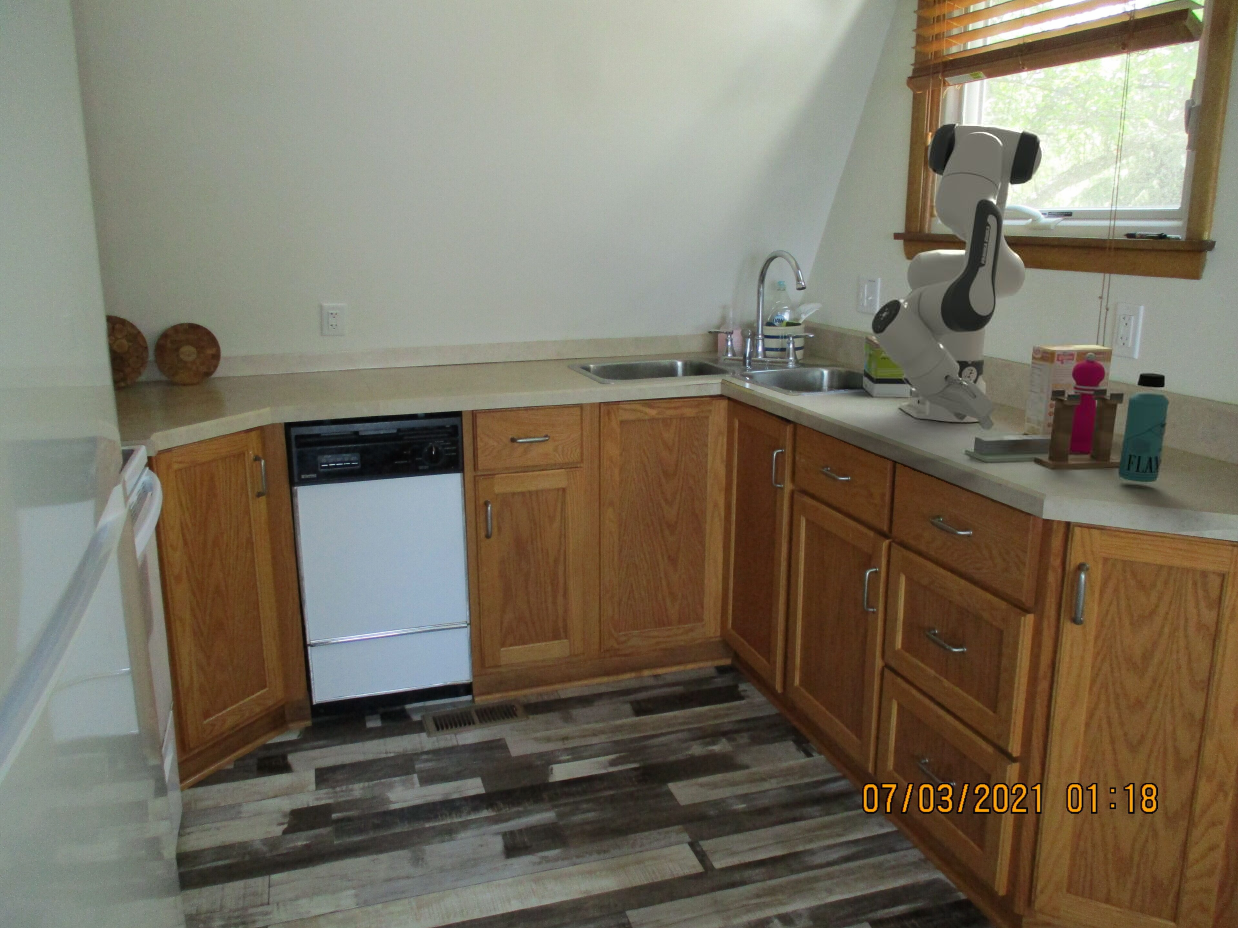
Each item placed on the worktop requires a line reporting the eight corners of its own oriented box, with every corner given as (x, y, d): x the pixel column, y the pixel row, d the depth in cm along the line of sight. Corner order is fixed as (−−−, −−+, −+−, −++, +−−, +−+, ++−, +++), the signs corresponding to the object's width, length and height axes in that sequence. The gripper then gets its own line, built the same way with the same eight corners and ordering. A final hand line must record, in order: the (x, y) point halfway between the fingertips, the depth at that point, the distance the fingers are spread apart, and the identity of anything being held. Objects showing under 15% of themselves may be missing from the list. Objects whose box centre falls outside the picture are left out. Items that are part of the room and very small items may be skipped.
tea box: (861, 388, 274) (865, 335, 271) (897, 389, 274) (901, 336, 270) (872, 397, 260) (876, 341, 256) (910, 398, 259) (915, 342, 256)
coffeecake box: (1081, 431, 220) (1092, 344, 215) (1102, 437, 213) (1114, 348, 209) (1021, 433, 217) (1031, 345, 212) (1041, 439, 210) (1052, 349, 206)
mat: (964, 453, 197) (965, 449, 197) (1040, 450, 200) (1041, 446, 200) (986, 462, 189) (987, 458, 189) (1065, 459, 192) (1065, 455, 192)
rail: (973, 451, 194) (975, 436, 194) (1045, 449, 198) (1047, 434, 197) (983, 455, 191) (984, 440, 190) (1056, 453, 194) (1058, 438, 194)
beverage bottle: (1117, 488, 172) (1133, 375, 167) (1114, 479, 178) (1129, 370, 173) (1159, 492, 169) (1177, 377, 164) (1154, 483, 175) (1170, 372, 171)
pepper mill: (1087, 446, 204) (1099, 350, 200) (1105, 454, 197) (1118, 355, 192) (1053, 446, 204) (1064, 350, 199) (1069, 454, 197) (1082, 355, 192)
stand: (1034, 461, 190) (1042, 389, 187) (1102, 459, 193) (1112, 388, 190) (1053, 469, 184) (1062, 395, 181) (1123, 466, 187) (1133, 393, 184)
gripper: (976, 368, 177) (1018, 420, 181) (919, 354, 196) (959, 401, 200) (951, 393, 177) (994, 445, 181) (897, 377, 196) (937, 423, 200)
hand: (975, 422), depth 191 cm, fingers open, 8 cm apart
